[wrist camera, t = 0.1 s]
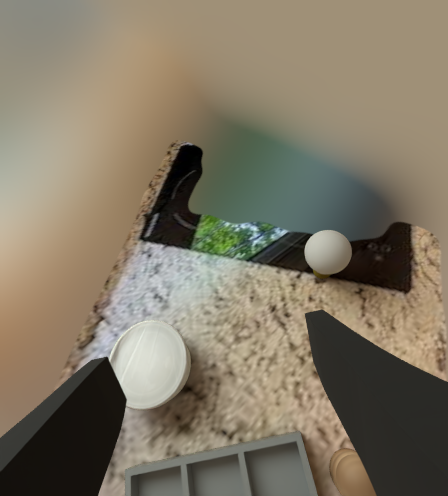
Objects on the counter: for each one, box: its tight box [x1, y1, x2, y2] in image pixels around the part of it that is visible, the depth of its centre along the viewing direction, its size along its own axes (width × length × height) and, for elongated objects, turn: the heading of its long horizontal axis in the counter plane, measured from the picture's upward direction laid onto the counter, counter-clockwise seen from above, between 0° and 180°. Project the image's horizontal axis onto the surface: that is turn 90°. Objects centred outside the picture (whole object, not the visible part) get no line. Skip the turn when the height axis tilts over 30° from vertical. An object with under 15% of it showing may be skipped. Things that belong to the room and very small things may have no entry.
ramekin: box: [109, 320, 191, 410], centre depth 39 cm, size 11×11×5 cm
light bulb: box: [305, 230, 352, 279], centre depth 39 cm, size 6×6×10 cm
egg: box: [330, 448, 377, 496], centre depth 29 cm, size 4×4×7 cm
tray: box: [125, 431, 318, 496], centre depth 32 cm, size 8×21×3 cm, turn 101°
